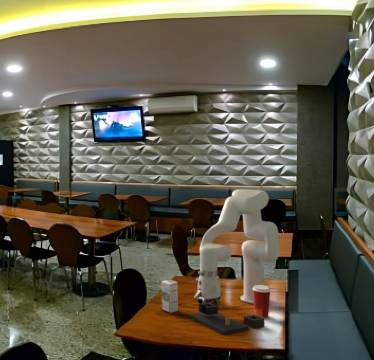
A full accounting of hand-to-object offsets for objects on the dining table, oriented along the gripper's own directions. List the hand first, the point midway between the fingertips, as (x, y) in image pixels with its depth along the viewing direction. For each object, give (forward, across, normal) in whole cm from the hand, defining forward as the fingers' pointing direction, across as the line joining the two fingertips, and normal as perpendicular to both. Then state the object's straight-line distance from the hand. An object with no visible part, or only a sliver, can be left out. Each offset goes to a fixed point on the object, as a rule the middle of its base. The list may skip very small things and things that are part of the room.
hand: (208, 311), depth 206 cm
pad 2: (+4, +13, -14) cm, 20 cm away
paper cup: (+4, +25, -7) cm, 26 cm away
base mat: (+4, 0, -6) cm, 7 cm away
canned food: (+4, +18, +24) cm, 30 cm away
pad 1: (+1, 0, 0) cm, 1 cm away
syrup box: (+4, -9, +17) cm, 20 cm away
